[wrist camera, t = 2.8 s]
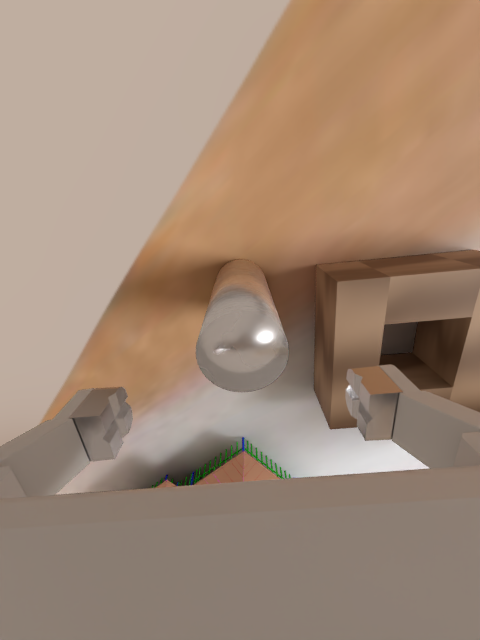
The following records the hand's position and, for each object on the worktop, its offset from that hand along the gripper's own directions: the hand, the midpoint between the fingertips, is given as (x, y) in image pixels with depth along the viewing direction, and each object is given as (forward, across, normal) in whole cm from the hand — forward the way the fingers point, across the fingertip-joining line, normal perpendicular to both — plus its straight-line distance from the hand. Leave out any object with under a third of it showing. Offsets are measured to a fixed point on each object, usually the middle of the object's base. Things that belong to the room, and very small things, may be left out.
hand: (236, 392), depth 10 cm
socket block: (+13, -12, +4) cm, 18 cm away
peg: (+13, 0, -1) cm, 13 cm away
